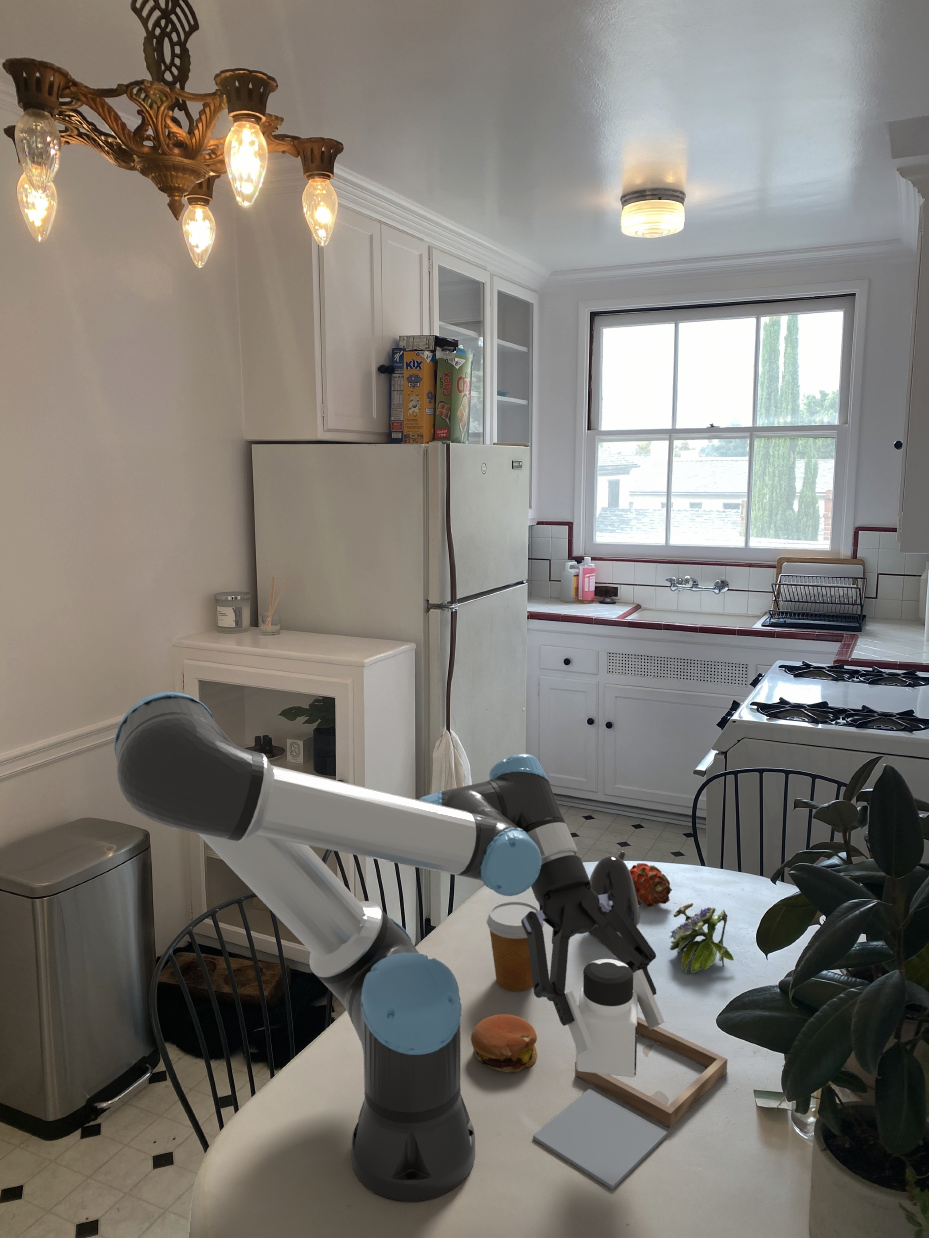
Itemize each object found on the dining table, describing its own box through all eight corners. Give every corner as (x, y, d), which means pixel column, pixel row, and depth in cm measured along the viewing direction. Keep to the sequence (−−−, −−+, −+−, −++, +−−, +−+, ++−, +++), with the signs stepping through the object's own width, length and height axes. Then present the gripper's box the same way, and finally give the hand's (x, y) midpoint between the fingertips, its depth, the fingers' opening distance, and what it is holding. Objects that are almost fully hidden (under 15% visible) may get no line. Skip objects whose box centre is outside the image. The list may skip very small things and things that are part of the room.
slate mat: (612, 1189, 105) (612, 1185, 105) (532, 1138, 113) (532, 1135, 113) (667, 1135, 114) (667, 1132, 114) (589, 1091, 122) (589, 1088, 122)
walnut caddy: (670, 1127, 115) (670, 1113, 115) (575, 1075, 125) (575, 1061, 125) (726, 1071, 126) (727, 1058, 126) (635, 1027, 136) (635, 1015, 136)
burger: (481, 1030, 136) (481, 1001, 135) (542, 1040, 134) (543, 1011, 133) (463, 1071, 127) (463, 1041, 126) (529, 1083, 124) (529, 1052, 123)
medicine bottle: (635, 1079, 108) (637, 986, 106) (576, 1071, 110) (576, 980, 108) (636, 1042, 115) (638, 955, 113) (580, 1036, 116) (581, 949, 115)
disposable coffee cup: (515, 1004, 142) (515, 933, 141) (474, 979, 149) (474, 911, 148) (556, 982, 149) (557, 913, 147) (515, 959, 156) (515, 894, 154)
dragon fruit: (672, 922, 171) (617, 912, 179) (686, 884, 176) (633, 876, 184) (654, 896, 167) (600, 887, 175) (670, 858, 172) (616, 850, 180)
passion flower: (681, 979, 159) (686, 910, 164) (743, 987, 153) (746, 914, 158) (656, 968, 151) (662, 895, 156) (720, 975, 145) (724, 899, 150)
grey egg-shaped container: (648, 931, 165) (650, 852, 163) (626, 956, 156) (627, 873, 154) (596, 917, 170) (597, 840, 168) (572, 941, 162) (573, 860, 160)
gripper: (610, 859, 128) (680, 1020, 117) (469, 893, 118) (531, 1073, 107) (633, 837, 122) (710, 1003, 111) (487, 870, 113) (555, 1057, 101)
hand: (622, 1037), depth 109 cm, fingers closed on medicine bottle, 10 cm apart
